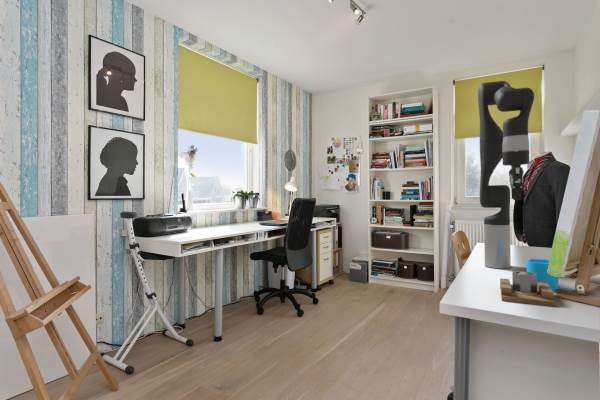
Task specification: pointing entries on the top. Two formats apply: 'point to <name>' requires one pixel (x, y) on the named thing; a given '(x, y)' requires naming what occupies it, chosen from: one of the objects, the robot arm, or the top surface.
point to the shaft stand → (540, 298)
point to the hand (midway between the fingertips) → (516, 199)
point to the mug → (542, 272)
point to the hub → (524, 282)
